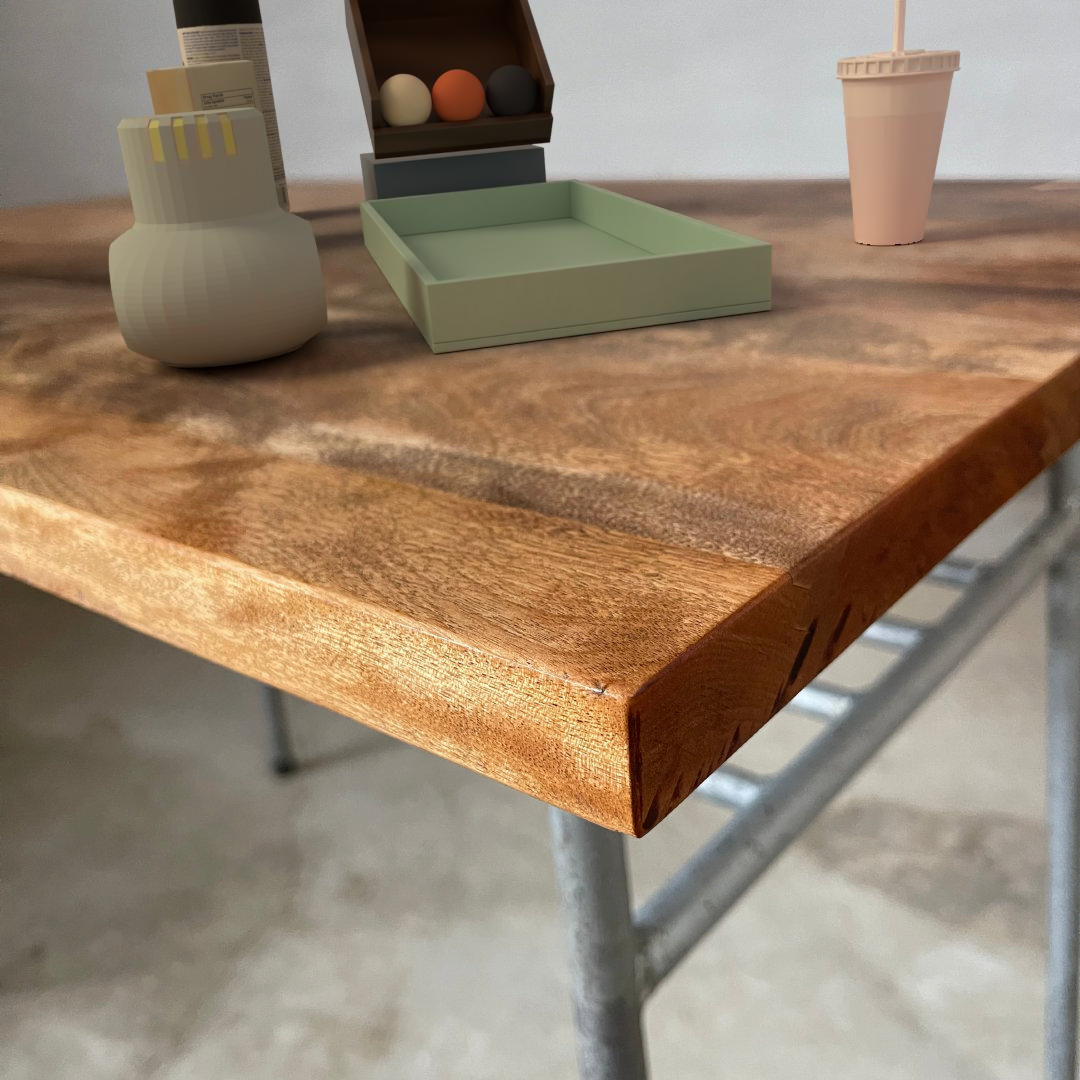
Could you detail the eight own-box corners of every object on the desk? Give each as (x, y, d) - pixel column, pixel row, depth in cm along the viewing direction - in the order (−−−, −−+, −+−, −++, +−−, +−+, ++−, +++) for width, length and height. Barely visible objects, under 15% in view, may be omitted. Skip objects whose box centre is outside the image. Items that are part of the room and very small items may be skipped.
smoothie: (945, 228, 65) (964, -40, 60) (951, 247, 60) (972, -46, 54) (832, 232, 67) (840, -28, 61) (828, 251, 62) (836, -33, 56)
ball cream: (369, 122, 73) (375, 124, 77) (423, 137, 74) (426, 138, 77) (381, 65, 72) (386, 69, 75) (435, 80, 72) (438, 84, 76)
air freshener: (339, 368, 46) (300, 107, 42) (129, 397, 44) (67, 128, 40) (317, 317, 55) (284, 102, 51) (145, 339, 54) (97, 118, 50)
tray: (364, 245, 77) (358, 201, 75) (577, 221, 79) (575, 179, 78) (433, 353, 47) (425, 284, 46) (771, 310, 50) (772, 243, 48)
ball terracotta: (417, 74, 75) (427, 113, 73) (464, 48, 74) (474, 88, 72) (442, 107, 78) (452, 146, 77) (488, 83, 77) (498, 122, 75)
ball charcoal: (487, 96, 73) (467, 101, 77) (527, 131, 75) (507, 134, 78) (516, 50, 73) (495, 56, 76) (556, 86, 75) (534, 91, 78)
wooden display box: (344, 20, 81) (333, -136, 71) (508, 8, 83) (520, -145, 73) (375, 160, 75) (367, 11, 65) (550, 143, 77) (569, -3, 67)
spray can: (270, 212, 99) (228, -41, 91) (307, 216, 94) (266, -51, 86) (199, 223, 95) (149, -40, 87) (233, 228, 90) (184, -50, 82)
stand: (368, 219, 89) (359, 153, 87) (516, 203, 91) (511, 139, 89) (382, 237, 79) (373, 164, 77) (549, 219, 81) (544, 147, 79)
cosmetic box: (244, 239, 84) (213, 63, 79) (287, 240, 81) (258, 58, 77) (178, 255, 79) (141, 67, 74) (222, 256, 77) (187, 63, 72)
